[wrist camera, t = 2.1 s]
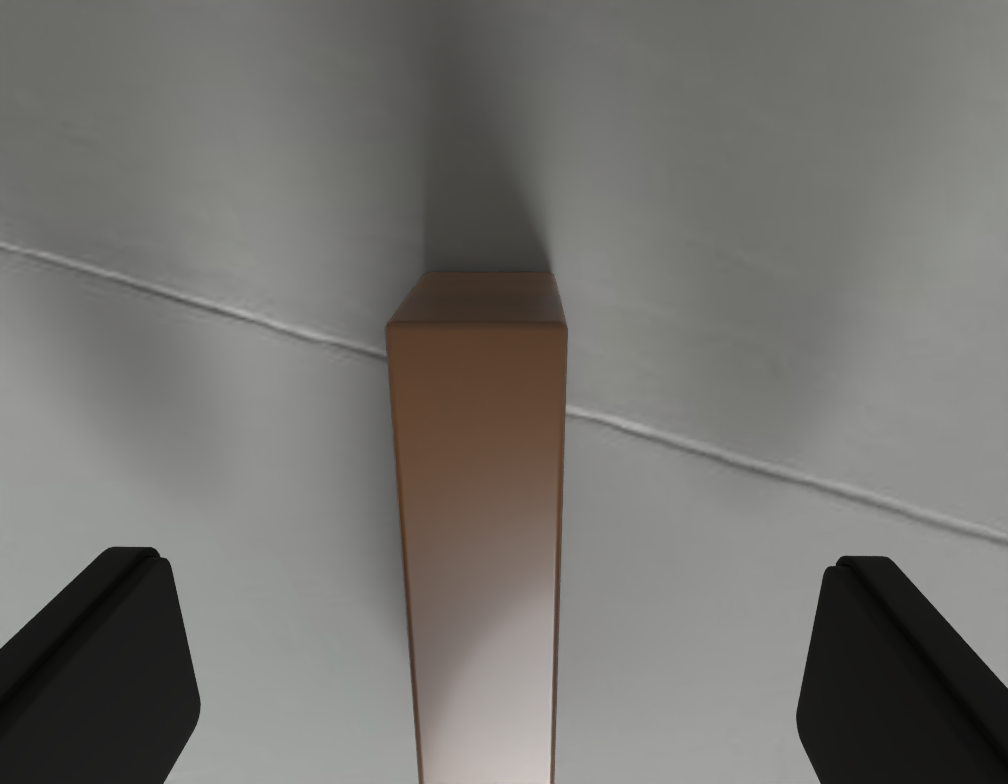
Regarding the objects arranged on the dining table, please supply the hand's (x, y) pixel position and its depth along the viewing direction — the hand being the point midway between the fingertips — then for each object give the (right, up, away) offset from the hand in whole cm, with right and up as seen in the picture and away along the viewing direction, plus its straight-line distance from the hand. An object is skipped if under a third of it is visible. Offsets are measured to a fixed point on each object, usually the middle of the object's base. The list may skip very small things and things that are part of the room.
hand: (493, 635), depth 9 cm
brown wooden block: (0, +1, +2) cm, 2 cm away
